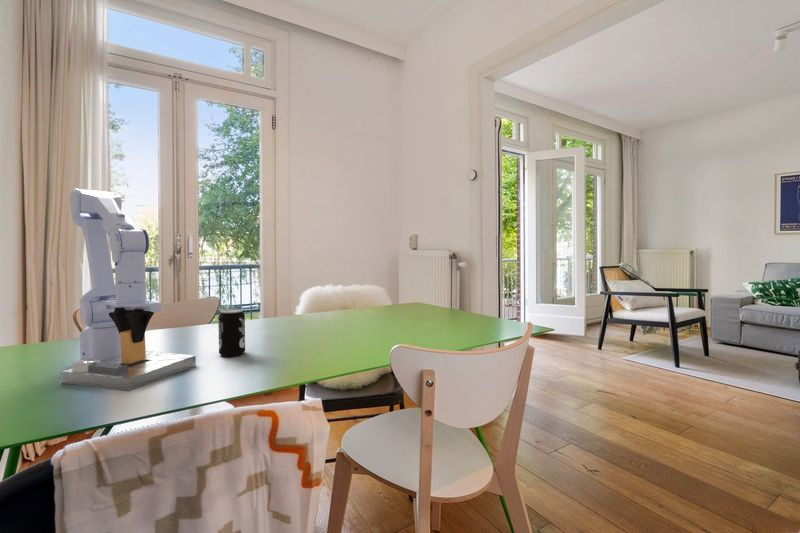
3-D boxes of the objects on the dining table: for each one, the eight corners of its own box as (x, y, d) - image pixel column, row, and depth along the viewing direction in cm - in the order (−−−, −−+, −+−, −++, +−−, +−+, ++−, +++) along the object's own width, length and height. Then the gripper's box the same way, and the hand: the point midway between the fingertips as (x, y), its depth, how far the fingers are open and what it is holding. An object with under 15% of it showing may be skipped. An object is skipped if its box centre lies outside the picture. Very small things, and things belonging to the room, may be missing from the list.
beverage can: (235, 358, 104) (235, 312, 103) (213, 356, 105) (212, 311, 104) (250, 351, 110) (249, 309, 110) (229, 350, 111) (228, 308, 111)
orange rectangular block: (121, 362, 89) (119, 332, 89) (137, 357, 93) (135, 328, 93) (130, 363, 89) (128, 332, 88) (145, 358, 93) (144, 328, 92)
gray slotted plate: (61, 382, 85) (61, 364, 84) (137, 359, 102) (136, 344, 102) (128, 391, 80) (128, 371, 80) (195, 365, 97) (195, 349, 97)
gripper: (88, 282, 88) (90, 343, 89) (140, 284, 84) (142, 347, 85) (118, 280, 95) (120, 336, 95) (168, 281, 91) (169, 340, 92)
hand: (132, 341), depth 91 cm, fingers closed on orange rectangular block, 2 cm apart
